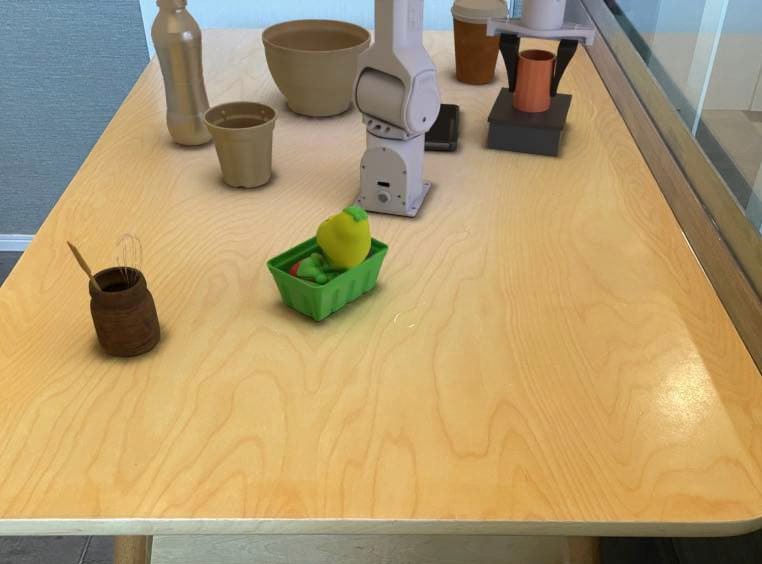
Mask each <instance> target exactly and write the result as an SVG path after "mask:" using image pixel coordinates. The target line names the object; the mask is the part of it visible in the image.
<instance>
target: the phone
mask: <svg viewBox="0 0 762 564" xmlns="http://www.w3.org/2000/svg"><path fill="white" fill-rule="evenodd" d="M460 110H461V109H460V105H458V104H455V103H441V104H440V110H439V114H438V116H437V118H436V120H435V122H434V123H433V125H432V126H431V127H430V129H429V131H428V132H425V141H424V151H443V152H452V151H456V150H457V149H458V147H457V146H458V142H459V141H458V139H459V124H460V123H459V121H460Z"/></svg>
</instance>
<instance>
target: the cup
mask: <svg viewBox="0 0 762 564" xmlns="http://www.w3.org/2000/svg"><path fill="white" fill-rule="evenodd" d="M556 58H557V54H556V53H555V52H552V51H549V50H546V49H540V48H539V49H538V48H529V49H523V50H520V51H519V53H518V57H517V66H516V75H515V85H514V94H513V106H514V107H515V108H516V109H518V110H521V111H525V112H543V111H546V110H548V109H549V107H550V101H551V97H550V95H551V88H552V84H553V79H554V74H555V67H556Z"/></svg>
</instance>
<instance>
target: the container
mask: <svg viewBox="0 0 762 564" xmlns="http://www.w3.org/2000/svg"><path fill="white" fill-rule="evenodd" d="M513 94H514V92H513V93H512V92H509V87H505V86H504V87H503V86H502V87H500V90H499V93H498V94H497V96H496V99H495V101H494V103H493V105H492V108H491V109H490V112H489V114H488V116H487V118H486V123H489V124H488V133H487V134H488V136H487V146H486V147H487V149H493V150H500V151H507V152H508V151H509V152H518V153H526V154H535V155H541V156H542V155H543V156H551V157H558V154H559V151H560V147H561V143H562V140H563V135H564V133H565V128H566V125H567V120H568V119H567V118H568V115H569V109H570V106H571V103H572V99H573V94H570V93H561V92H560V93H559V92H557V93H556V96H555V97H551V101H550V107H549V109H548V110H546V111H543V112H525V111H521V110H518V109H516V108H515V107H514V106H513Z"/></svg>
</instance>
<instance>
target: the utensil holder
mask: <svg viewBox="0 0 762 564" xmlns="http://www.w3.org/2000/svg"><path fill="white" fill-rule="evenodd" d="M129 237H130V238H131V240H132V244H133V247H136V245H135V242H134V238H135V239H136V240H137V241H138V243H139V246H140V247H139V251H140V253H143V249H142V243H141V240H140V239H139V236H136V235H135V234H131V233H129V234H128V233H124V234H122V235H121V236H119V237H118V238H117V240H116V243H117V246H119V245H120V242H121V241H122V240H124V239H125V238H126V240H125V244H127V242H128V239H129ZM121 238H122V239H121ZM119 239H120V240H119ZM66 244H67V245H68V247H69V249H70V251H71V253H72V254H73V256H74V258H75V260H76V262H77V263H78V265H79V266H80V268H81V269H82V270H83V271H84V273H85V274H86V275H87V277H88V279H89V281H88V295H89V297H90V301H89V310H90V311H89V312H90V315H91V320H92V323H93V327H94V329H95V334H96V337H97V340H98V343H99V345H100V346H101V348H102V349H103V351H105V352H106V353H107V354H109V355H113V356H117V357H133V356H138V355H141V354H144V353H146V352H148V351H150V350H151V349H152V348H154V347H155V346H156V345H157V343H158V342H159V340H160V337H161V328H160V327H161V326H160V323H159V317H158V311H157V308H156V304H155V300H154V297H153V294H152V293H151V291H150V290H149V288H148V282H147V280H146V277H145V276H144V273H143V272H142V271H141V269H142V265H143V262H142V255H139V256H140V257H139V258H140V259H139V262H140V263H139V265H138V268H137V265H134V263H132V264H131V265H132V267H131V266H126V262H127V245H125V247H124V249H125V250H124V252H122V257H123V260H124V261H123V265H124V266H122V265H121V266H120V264H119V258H116V259H117V260H116V261H117V264H118V266H111V267H107V268H105V269H102V270H100V271H98V272H96V273H95V274H92V270H91V269H90V267H89V265H88V264H87V262H86V261H85V259H84V258H83V256H82V254H81V253H80V251H79V250H78V248H77V247H76V246H75V245H74V244H73V243H71V242H70V241H69V240H67V241H66ZM136 250H137V249H136V248H134V254H135V255H134V256H135V257H134V258H135V259H134V260H137V251H136ZM124 254H125V255H124ZM124 256H125V257H124ZM134 266H135V267H134Z"/></svg>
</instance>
